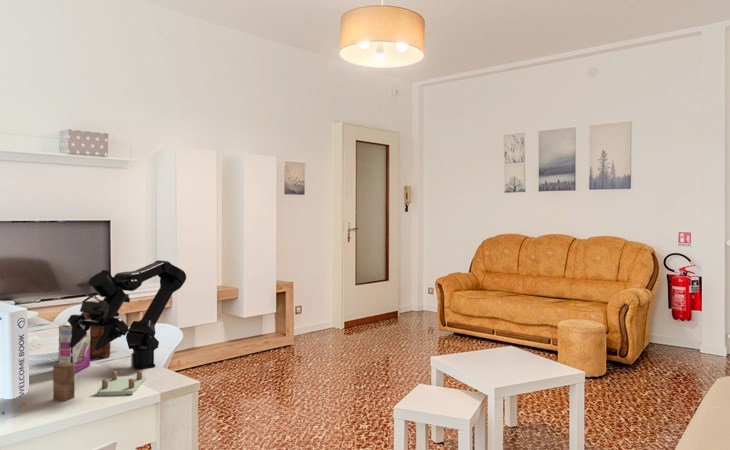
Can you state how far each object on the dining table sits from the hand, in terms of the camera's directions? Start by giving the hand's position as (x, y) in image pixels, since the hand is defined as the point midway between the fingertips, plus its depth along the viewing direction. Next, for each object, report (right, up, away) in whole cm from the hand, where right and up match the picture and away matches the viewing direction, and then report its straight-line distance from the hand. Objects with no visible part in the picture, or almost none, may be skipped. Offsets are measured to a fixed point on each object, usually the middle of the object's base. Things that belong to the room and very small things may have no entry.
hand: (83, 348), depth 160 cm
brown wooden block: (-2, -13, -6) cm, 15 cm away
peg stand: (+10, -13, +4) cm, 17 cm away
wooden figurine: (-15, -12, +35) cm, 40 cm away
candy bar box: (-13, -12, +20) cm, 27 cm away
